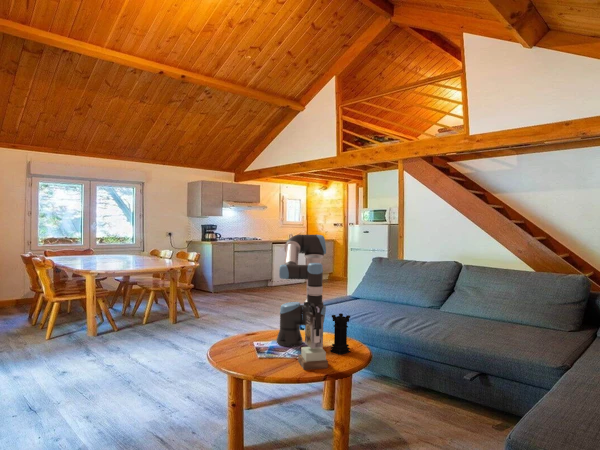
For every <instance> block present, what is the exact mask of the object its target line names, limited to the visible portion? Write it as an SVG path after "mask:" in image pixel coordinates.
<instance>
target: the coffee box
mask: <svg viewBox="0 0 600 450" xmlns="http://www.w3.org/2000/svg"><path fill="white" fill-rule="evenodd" d="M315 320H316V317H315V315H312V312H305V325H304V335H305V336H304V344H305V345H306V346H307V347H310V348H311V349H313V348H324V347H323V346H324V323H323V320H324V321H325V319H324V315H322V314H321V327H322V329H320V342H319V343H314V328H315Z"/></svg>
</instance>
